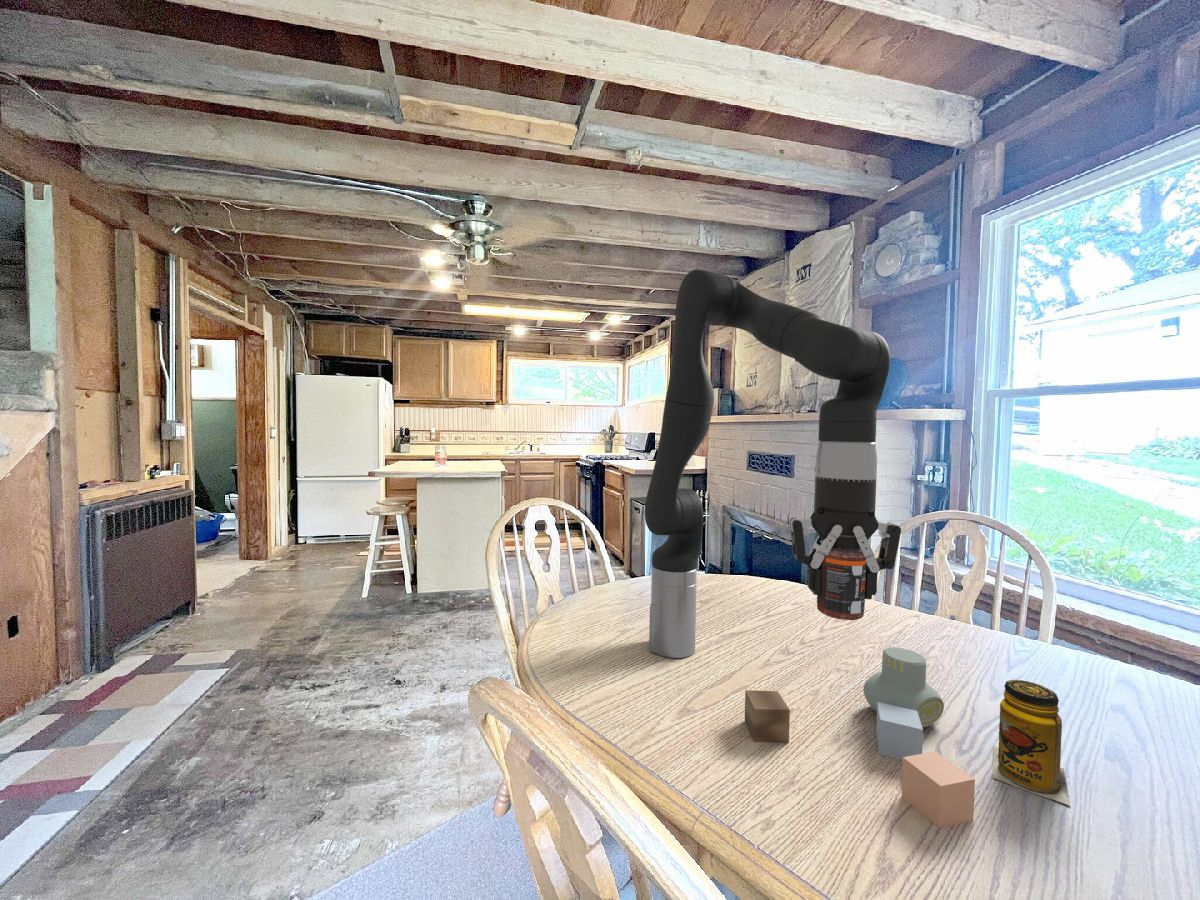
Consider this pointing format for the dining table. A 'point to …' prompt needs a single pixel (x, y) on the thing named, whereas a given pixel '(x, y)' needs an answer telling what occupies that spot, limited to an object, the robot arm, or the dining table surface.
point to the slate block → (898, 731)
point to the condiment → (1030, 741)
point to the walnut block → (767, 716)
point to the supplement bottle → (843, 580)
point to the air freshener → (904, 685)
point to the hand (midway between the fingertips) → (840, 594)
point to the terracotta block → (938, 789)
